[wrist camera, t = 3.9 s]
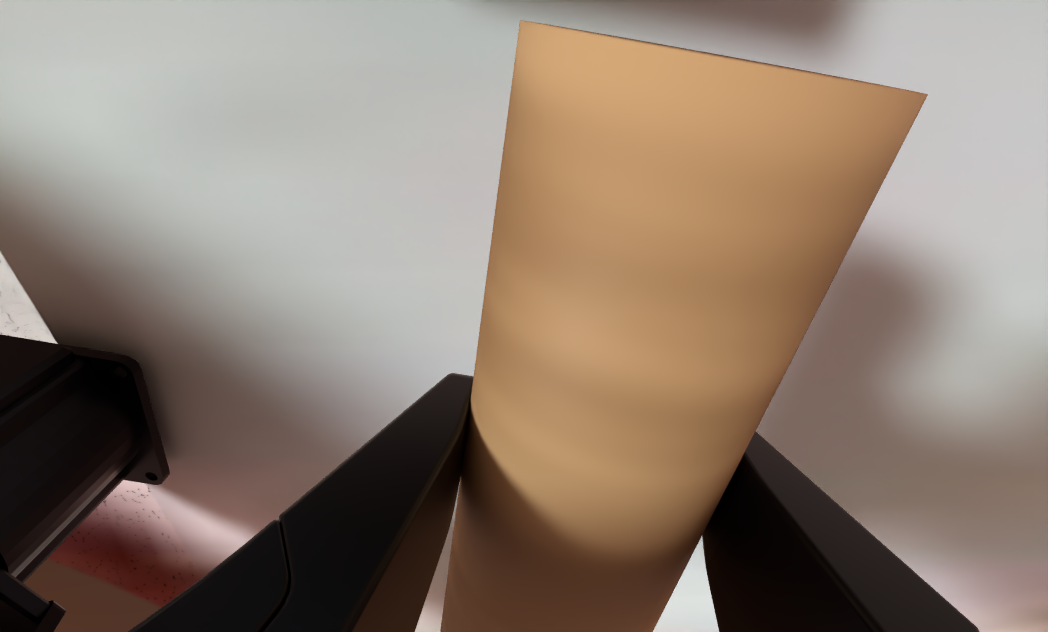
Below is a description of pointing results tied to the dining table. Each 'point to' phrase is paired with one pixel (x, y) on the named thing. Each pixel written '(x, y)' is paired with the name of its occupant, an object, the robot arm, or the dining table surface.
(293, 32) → the dining table surface
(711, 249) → the dowel
